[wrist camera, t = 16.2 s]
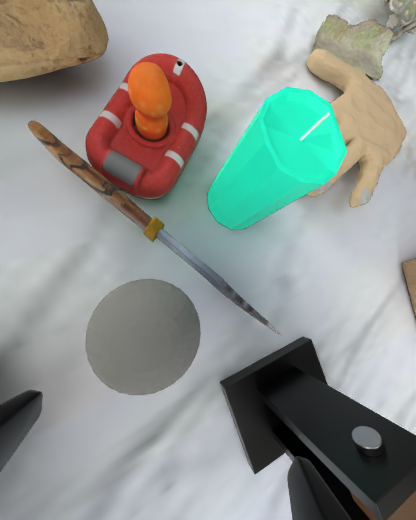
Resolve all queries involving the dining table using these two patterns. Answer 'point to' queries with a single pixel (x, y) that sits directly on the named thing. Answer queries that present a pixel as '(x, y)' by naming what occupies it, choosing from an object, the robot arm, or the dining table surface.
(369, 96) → the hand model
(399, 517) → the lever
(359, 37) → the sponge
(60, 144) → the knife
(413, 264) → the wooden block
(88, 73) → the dining table surface
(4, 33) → the oil lamp
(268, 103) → the candle
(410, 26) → the decorative insect model
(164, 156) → the toy boat
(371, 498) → the bracket
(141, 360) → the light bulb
